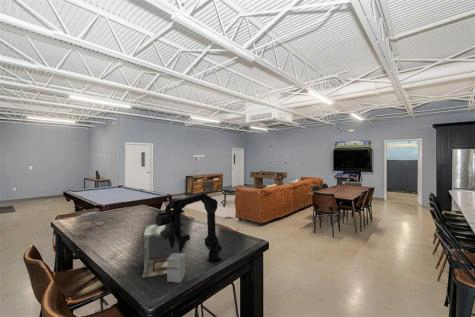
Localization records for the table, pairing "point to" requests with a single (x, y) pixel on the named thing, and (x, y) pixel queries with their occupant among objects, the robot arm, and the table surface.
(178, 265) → the supplement box
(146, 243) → the awning stand
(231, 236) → the table surface
